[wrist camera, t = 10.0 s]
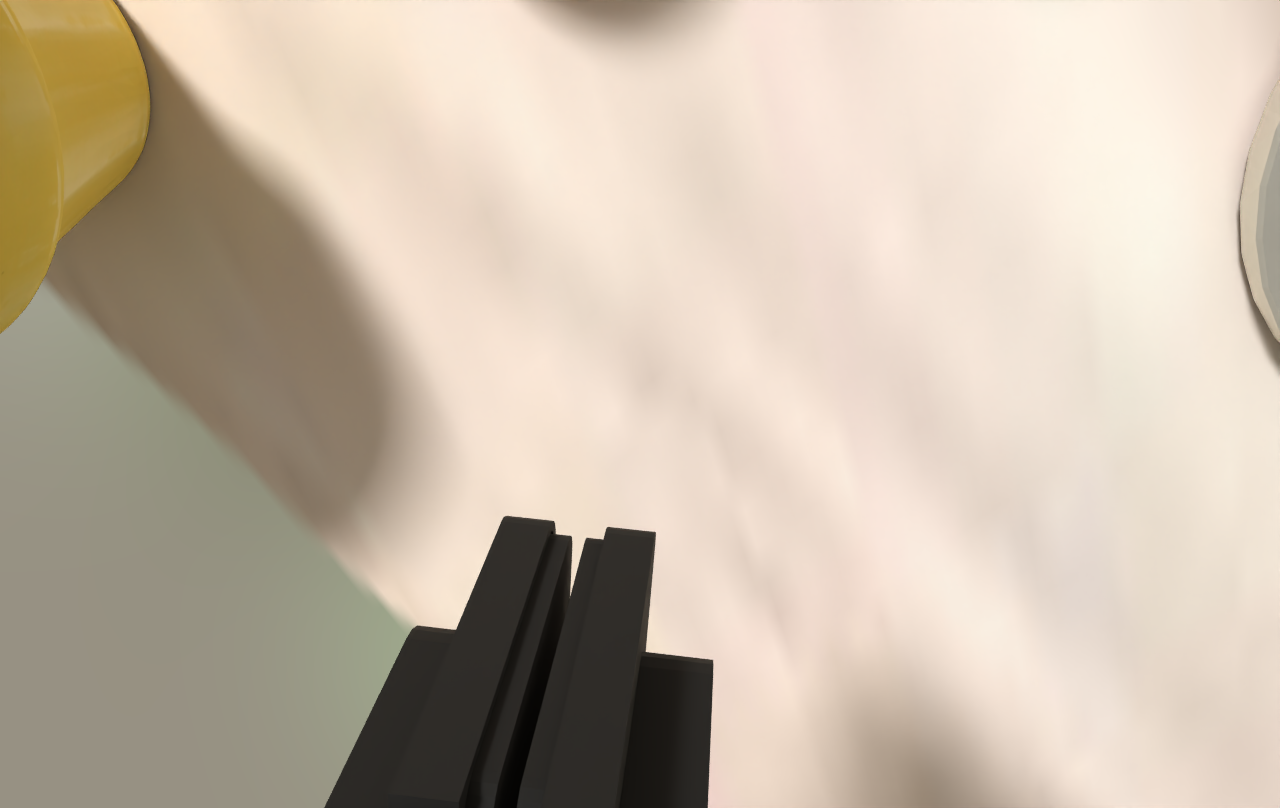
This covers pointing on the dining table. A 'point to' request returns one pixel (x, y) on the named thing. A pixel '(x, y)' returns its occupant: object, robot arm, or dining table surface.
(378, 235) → the dining table surface
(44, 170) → the plant pot
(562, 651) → the robot arm
